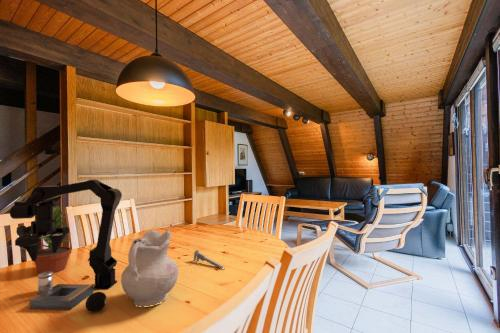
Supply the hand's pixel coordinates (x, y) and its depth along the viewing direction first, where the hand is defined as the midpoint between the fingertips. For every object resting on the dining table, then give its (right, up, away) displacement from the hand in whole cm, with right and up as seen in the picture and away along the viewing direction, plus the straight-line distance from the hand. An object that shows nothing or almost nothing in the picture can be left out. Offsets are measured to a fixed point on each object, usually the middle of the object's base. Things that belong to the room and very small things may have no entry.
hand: (44, 256), depth 98 cm
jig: (+14, -13, -9) cm, 21 cm away
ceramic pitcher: (+45, -13, -9) cm, 48 cm away
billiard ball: (+30, -13, -15) cm, 36 cm away
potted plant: (-11, -13, +18) cm, 25 cm away
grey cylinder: (+2, -13, -2) cm, 13 cm away
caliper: (+61, -14, +26) cm, 68 cm away
